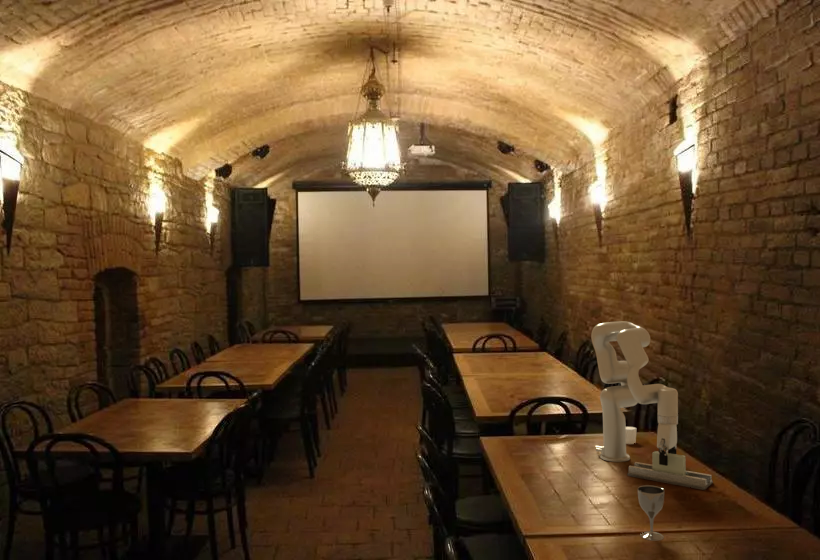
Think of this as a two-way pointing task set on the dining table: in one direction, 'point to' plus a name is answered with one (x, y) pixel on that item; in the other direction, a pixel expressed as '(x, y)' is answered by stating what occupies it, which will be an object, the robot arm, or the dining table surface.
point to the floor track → (671, 476)
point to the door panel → (670, 463)
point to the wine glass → (651, 507)
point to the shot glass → (630, 435)
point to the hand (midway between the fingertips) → (667, 461)
